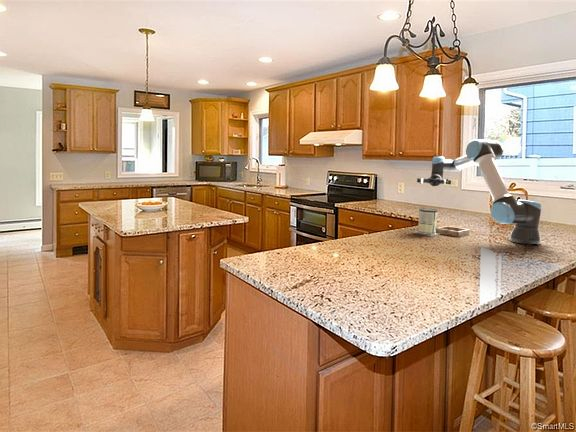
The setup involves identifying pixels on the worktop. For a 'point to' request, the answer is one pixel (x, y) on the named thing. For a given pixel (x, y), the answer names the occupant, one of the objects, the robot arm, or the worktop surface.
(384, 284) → the worktop surface
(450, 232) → the wooden tray
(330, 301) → the worktop surface
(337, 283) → the worktop surface
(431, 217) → the coffee can
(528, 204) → the robot arm
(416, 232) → the rubber mat
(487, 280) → the worktop surface
